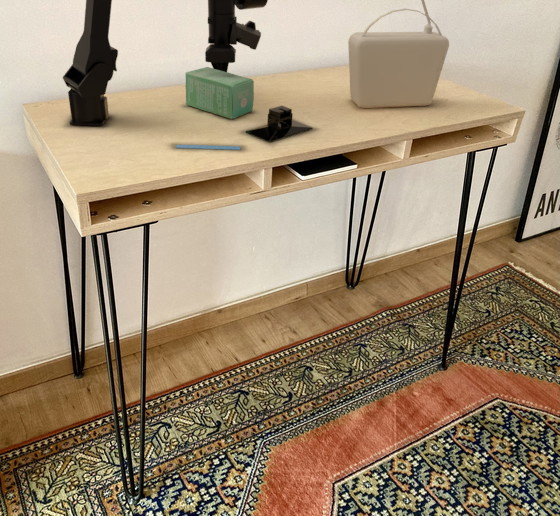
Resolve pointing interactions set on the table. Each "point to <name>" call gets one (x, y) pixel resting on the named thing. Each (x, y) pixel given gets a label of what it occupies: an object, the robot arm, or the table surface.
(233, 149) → the tape line
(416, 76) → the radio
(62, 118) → the table surface
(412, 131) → the table surface
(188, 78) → the box
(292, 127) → the black stand
